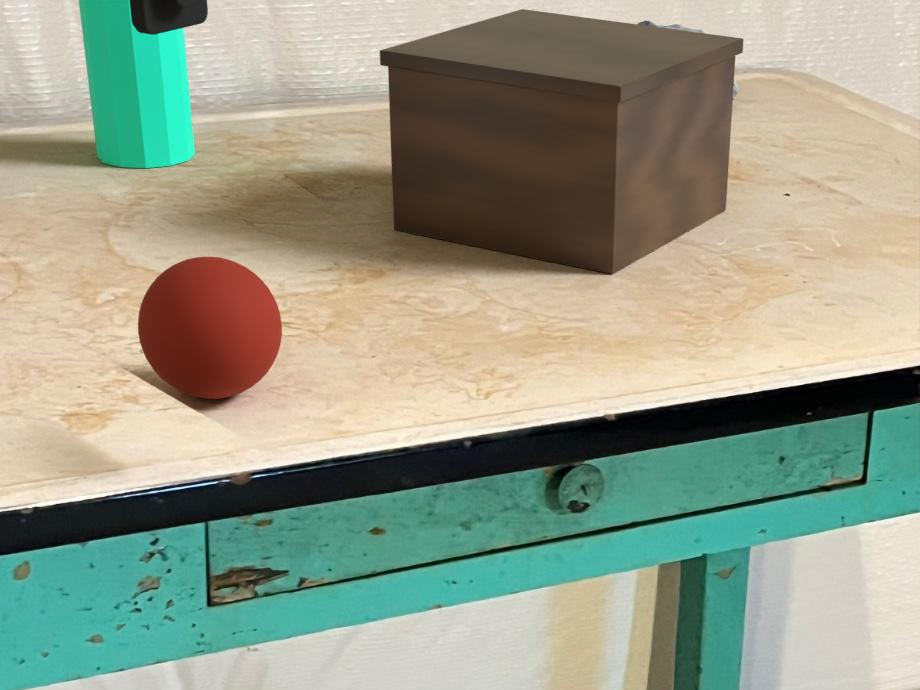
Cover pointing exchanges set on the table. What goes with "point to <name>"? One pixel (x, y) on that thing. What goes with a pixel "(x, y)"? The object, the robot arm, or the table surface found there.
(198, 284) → the ball
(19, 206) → the table surface
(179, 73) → the candle
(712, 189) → the box
